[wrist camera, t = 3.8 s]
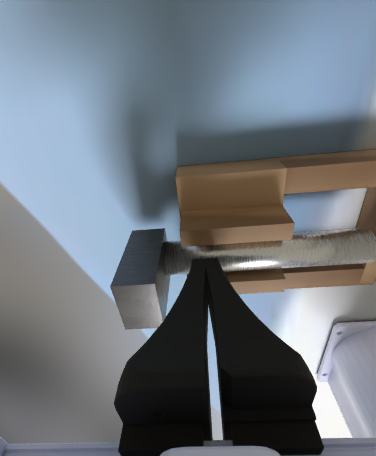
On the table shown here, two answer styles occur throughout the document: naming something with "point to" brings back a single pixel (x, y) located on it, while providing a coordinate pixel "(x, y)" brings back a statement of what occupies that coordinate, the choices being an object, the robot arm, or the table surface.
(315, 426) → the robot arm
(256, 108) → the table surface
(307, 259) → the grey metal hammer
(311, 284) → the wooden frame
